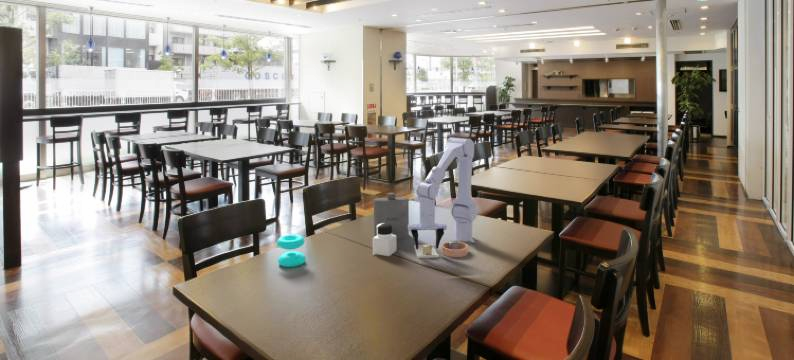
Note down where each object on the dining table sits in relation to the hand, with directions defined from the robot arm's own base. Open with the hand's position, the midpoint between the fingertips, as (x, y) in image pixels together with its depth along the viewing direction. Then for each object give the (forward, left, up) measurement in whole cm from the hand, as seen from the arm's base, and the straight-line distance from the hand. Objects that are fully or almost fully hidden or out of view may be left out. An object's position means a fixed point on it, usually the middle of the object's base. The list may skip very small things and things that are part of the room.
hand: (427, 248), depth 177 cm
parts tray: (-3, 0, -4) cm, 5 cm away
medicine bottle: (-5, -16, -4) cm, 17 cm away
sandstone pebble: (0, 0, -3) cm, 3 cm away
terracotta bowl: (-2, +11, -4) cm, 12 cm away
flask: (-23, -12, -4) cm, 26 cm away
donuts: (+1, -51, -4) cm, 51 cm away
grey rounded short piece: (-4, +11, -3) cm, 12 cm away
